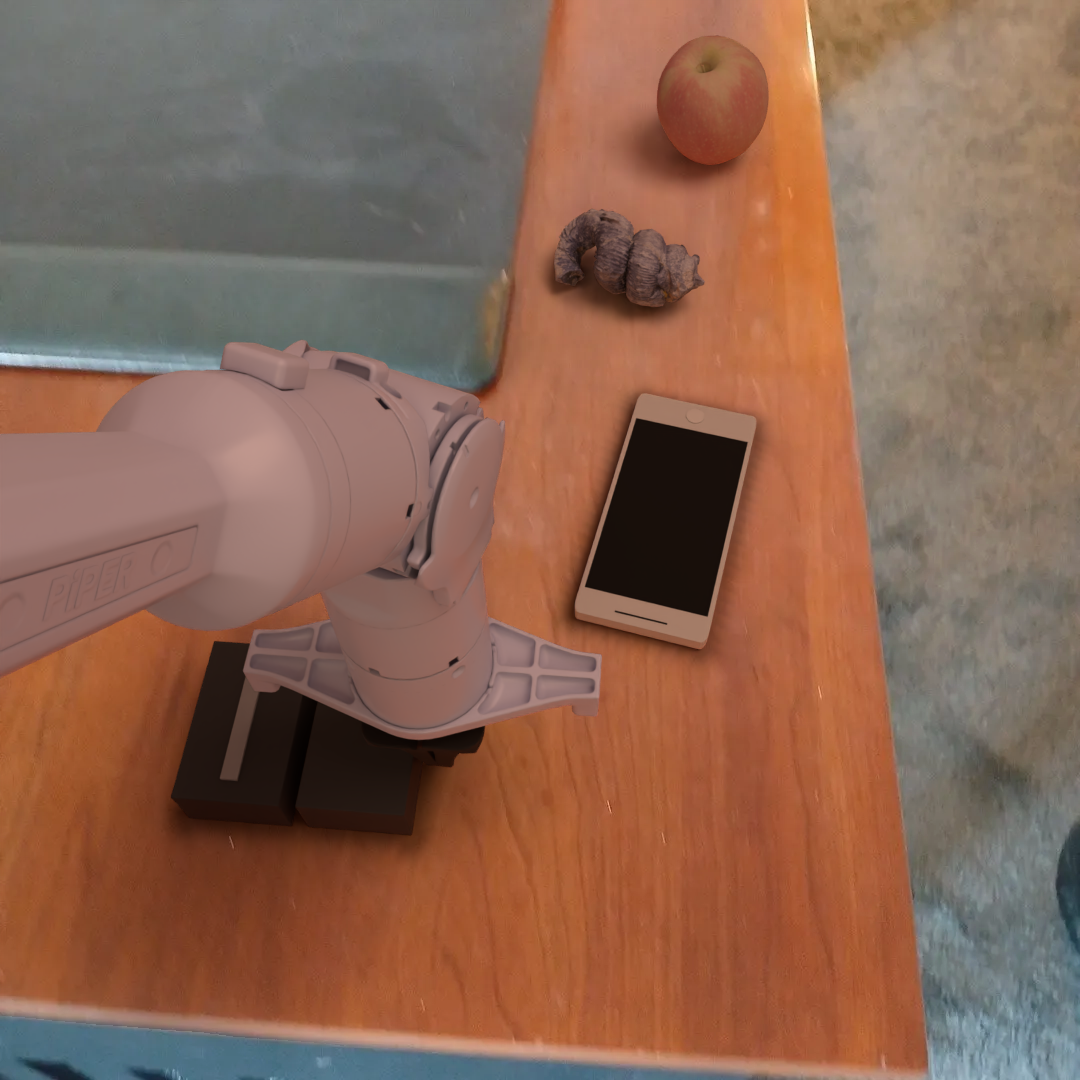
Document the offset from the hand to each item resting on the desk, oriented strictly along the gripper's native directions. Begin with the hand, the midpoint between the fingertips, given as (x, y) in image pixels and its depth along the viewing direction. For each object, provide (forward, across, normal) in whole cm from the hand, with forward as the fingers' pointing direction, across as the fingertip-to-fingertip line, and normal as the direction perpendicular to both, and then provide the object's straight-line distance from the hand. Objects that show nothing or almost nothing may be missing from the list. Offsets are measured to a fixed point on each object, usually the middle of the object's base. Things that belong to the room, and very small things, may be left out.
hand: (442, 746), depth 51 cm
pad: (+1, +4, 0) cm, 4 cm away
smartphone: (+2, -11, -15) cm, 18 cm away
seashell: (+2, -8, -33) cm, 34 cm away
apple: (+2, -13, -47) cm, 49 cm away
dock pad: (+1, +9, 0) cm, 9 cm away
